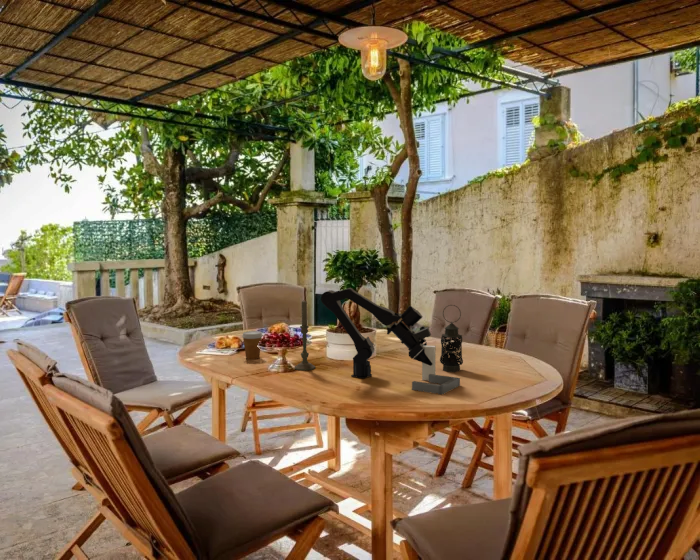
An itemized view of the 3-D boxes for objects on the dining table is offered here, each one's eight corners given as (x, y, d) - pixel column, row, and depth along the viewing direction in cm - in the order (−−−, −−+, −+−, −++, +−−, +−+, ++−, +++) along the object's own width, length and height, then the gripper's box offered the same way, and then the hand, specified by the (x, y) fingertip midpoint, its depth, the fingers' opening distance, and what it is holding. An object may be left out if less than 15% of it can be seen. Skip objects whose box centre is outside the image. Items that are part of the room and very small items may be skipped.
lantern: (463, 368, 256) (464, 303, 254) (462, 373, 248) (462, 306, 246) (441, 367, 259) (441, 303, 257) (438, 371, 250) (438, 305, 248)
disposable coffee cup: (239, 357, 283) (238, 332, 282) (257, 354, 289) (256, 330, 288) (248, 360, 276) (247, 335, 275) (266, 358, 281) (266, 332, 280)
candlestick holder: (302, 365, 265) (301, 298, 263) (319, 367, 261) (318, 299, 258) (290, 369, 258) (289, 300, 255) (307, 371, 253) (306, 301, 251)
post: (422, 380, 236) (422, 347, 235) (422, 377, 241) (423, 345, 240) (434, 380, 235) (434, 348, 234) (435, 377, 240) (435, 345, 239)
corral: (412, 389, 222) (412, 381, 222) (430, 381, 234) (430, 373, 234) (442, 394, 215) (442, 386, 214) (459, 385, 227) (459, 378, 227)
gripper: (417, 324, 228) (446, 353, 227) (420, 317, 246) (447, 344, 245) (396, 343, 230) (425, 373, 229) (401, 335, 249) (428, 362, 247)
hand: (432, 362), depth 238 cm, fingers open, 9 cm apart
